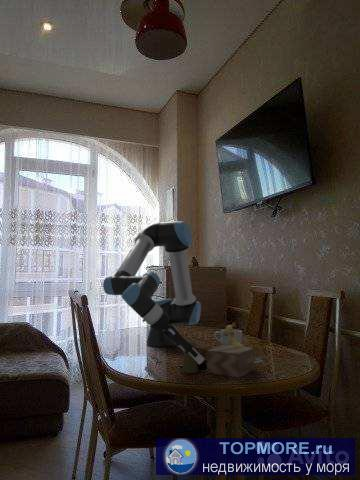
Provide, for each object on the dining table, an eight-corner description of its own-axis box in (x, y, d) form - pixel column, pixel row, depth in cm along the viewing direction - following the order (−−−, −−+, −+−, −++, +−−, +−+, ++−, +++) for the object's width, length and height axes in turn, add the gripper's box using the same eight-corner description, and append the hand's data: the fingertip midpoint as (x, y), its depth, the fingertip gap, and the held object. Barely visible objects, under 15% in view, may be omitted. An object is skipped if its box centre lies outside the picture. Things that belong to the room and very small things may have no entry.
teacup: (241, 344, 187) (241, 328, 187) (243, 349, 176) (242, 332, 177) (214, 344, 188) (214, 328, 189) (214, 348, 177) (213, 331, 178)
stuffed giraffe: (216, 355, 163) (217, 319, 164) (256, 356, 163) (256, 320, 164) (220, 365, 147) (221, 325, 148) (265, 366, 147) (265, 326, 148)
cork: (181, 368, 139) (181, 339, 140) (196, 368, 140) (196, 339, 141) (182, 373, 133) (182, 342, 135) (199, 372, 134) (198, 342, 135)
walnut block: (207, 372, 134) (206, 350, 135) (223, 364, 145) (223, 344, 146) (239, 377, 127) (238, 354, 128) (254, 369, 138) (253, 347, 138)
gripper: (144, 321, 145) (182, 359, 148) (155, 330, 123) (200, 374, 126) (157, 307, 147) (194, 345, 150) (171, 313, 125) (214, 357, 128)
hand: (197, 358), depth 138 cm, fingers open, 11 cm apart
